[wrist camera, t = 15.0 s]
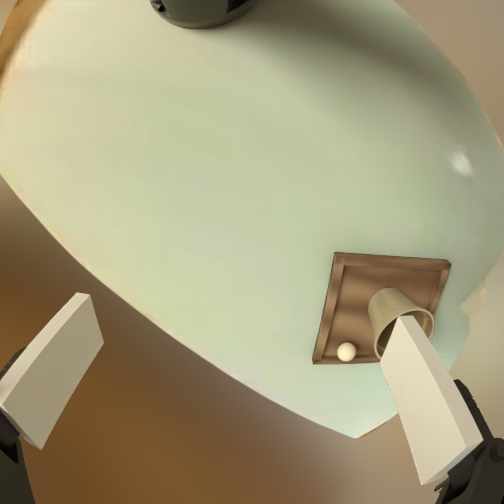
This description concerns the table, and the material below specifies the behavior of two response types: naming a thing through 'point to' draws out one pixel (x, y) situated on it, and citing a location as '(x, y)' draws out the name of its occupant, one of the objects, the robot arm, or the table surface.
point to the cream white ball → (346, 351)
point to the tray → (360, 293)
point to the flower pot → (394, 316)
